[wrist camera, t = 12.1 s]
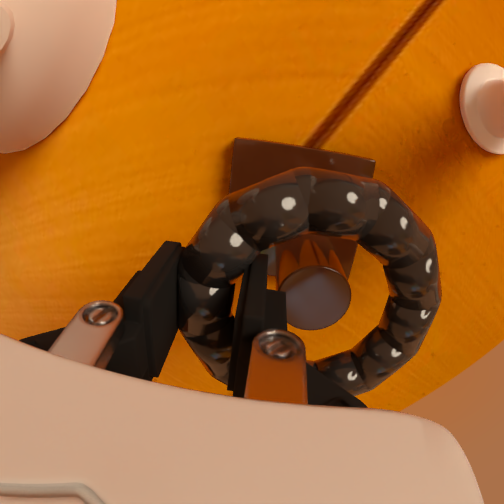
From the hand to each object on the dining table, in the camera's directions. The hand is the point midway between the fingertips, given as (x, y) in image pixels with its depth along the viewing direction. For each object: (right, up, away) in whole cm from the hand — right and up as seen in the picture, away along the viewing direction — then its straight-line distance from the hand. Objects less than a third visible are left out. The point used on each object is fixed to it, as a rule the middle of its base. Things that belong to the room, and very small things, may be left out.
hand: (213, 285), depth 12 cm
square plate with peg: (+4, +4, +10) cm, 11 cm away
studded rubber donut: (+4, -1, -1) cm, 4 cm away
